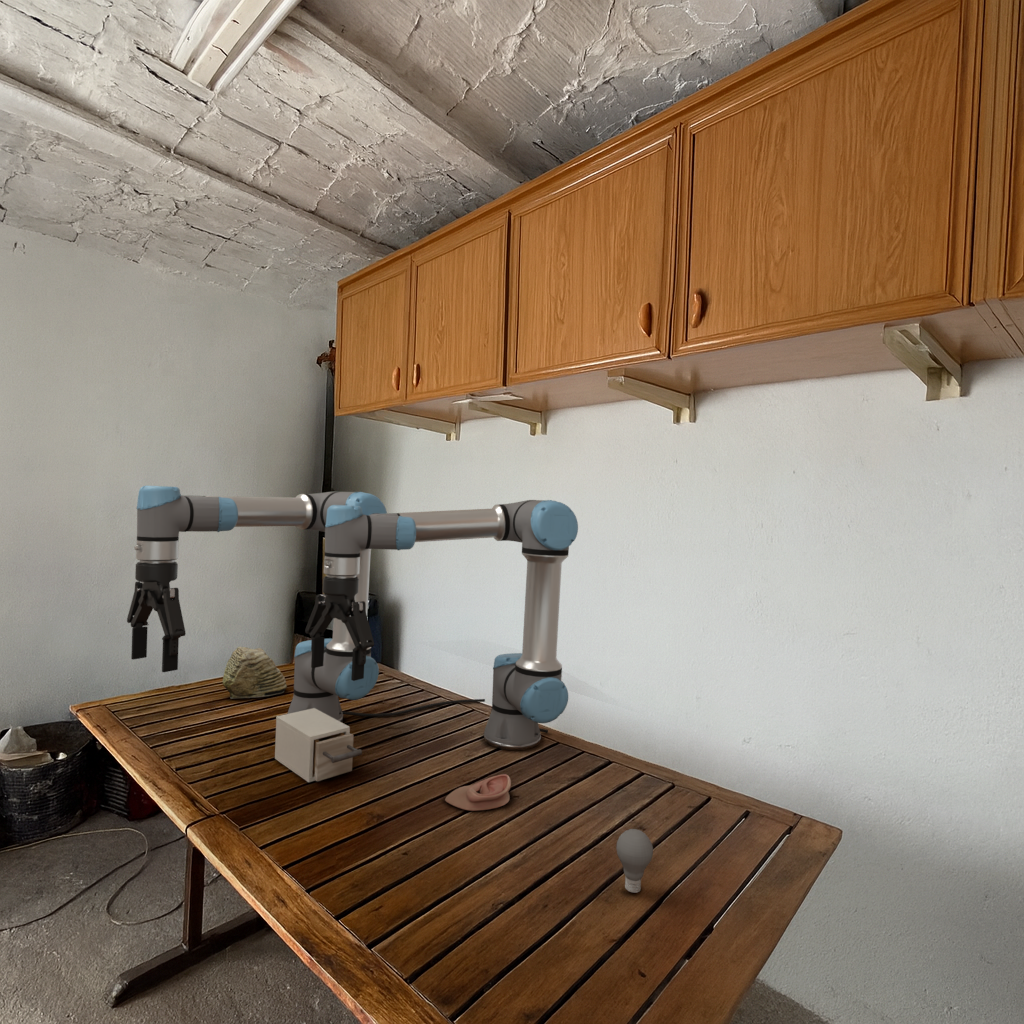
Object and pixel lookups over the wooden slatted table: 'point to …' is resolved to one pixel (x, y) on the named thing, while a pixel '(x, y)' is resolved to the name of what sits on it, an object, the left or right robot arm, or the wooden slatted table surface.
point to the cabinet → (303, 738)
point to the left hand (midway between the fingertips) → (153, 664)
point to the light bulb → (634, 857)
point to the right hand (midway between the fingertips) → (336, 673)
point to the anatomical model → (482, 794)
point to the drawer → (333, 755)
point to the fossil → (252, 674)
